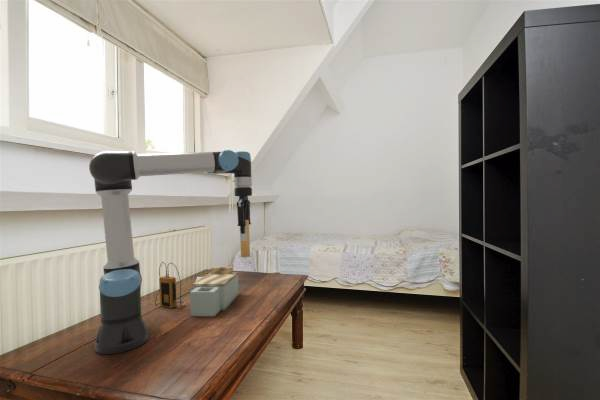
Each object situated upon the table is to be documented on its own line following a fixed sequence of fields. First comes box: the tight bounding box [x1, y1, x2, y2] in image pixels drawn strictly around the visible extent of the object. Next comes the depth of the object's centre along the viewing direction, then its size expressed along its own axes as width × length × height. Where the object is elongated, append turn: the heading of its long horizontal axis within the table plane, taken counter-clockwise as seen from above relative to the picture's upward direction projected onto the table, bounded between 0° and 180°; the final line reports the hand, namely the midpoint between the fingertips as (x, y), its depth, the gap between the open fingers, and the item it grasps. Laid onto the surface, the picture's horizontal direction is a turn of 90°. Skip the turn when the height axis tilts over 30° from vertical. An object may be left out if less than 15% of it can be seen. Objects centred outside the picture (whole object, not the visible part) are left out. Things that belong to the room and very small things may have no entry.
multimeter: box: [154, 261, 188, 309], centre depth 138 cm, size 15×10×20 cm
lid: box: [192, 266, 239, 287], centre depth 140 cm, size 14×20×4 cm
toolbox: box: [189, 274, 239, 317], centre depth 136 cm, size 14×27×10 cm, turn 175°
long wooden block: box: [239, 220, 251, 258], centre depth 134 cm, size 4×4×16 cm
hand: (245, 240), depth 134 cm, fingers closed on long wooden block, 4 cm apart
